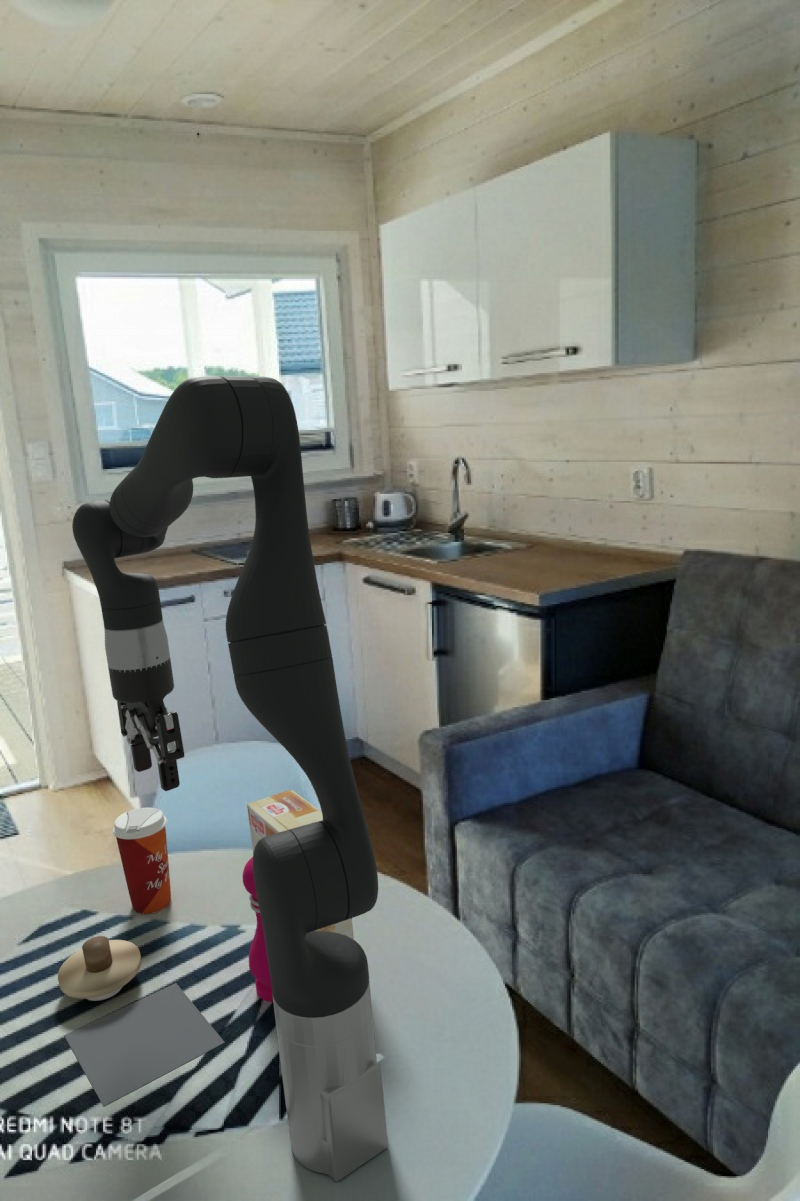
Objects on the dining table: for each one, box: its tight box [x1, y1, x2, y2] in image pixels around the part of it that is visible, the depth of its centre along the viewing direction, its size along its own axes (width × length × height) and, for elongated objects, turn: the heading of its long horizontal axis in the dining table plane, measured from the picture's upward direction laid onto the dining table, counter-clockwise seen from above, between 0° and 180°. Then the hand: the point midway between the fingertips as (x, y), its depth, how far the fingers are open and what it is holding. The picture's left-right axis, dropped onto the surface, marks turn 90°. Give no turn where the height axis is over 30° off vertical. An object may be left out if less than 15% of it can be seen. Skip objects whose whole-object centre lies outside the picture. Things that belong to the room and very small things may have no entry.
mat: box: [63, 982, 226, 1107], centre depth 103 cm, size 14×14×1 cm
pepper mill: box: [242, 856, 273, 1003], centre depth 108 cm, size 7×7×20 cm
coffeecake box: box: [246, 789, 355, 940], centre depth 116 cm, size 15×7×20 cm, turn 33°
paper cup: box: [112, 807, 172, 915], centre depth 130 cm, size 8×8×14 cm
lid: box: [57, 935, 142, 999], centre depth 111 cm, size 10×10×4 cm
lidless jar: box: [85, 986, 124, 1002], centre depth 112 cm, size 5×3×5 cm
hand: (156, 778), depth 114 cm, fingers open, 8 cm apart
